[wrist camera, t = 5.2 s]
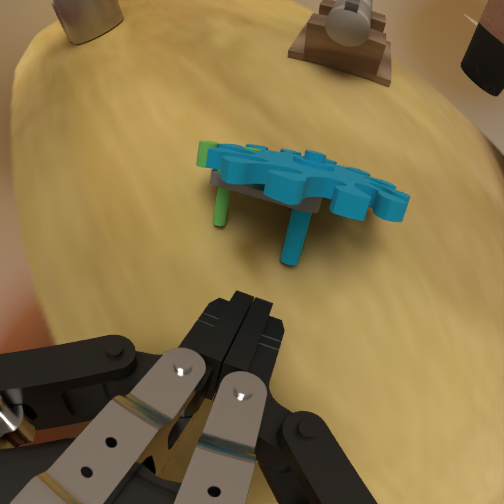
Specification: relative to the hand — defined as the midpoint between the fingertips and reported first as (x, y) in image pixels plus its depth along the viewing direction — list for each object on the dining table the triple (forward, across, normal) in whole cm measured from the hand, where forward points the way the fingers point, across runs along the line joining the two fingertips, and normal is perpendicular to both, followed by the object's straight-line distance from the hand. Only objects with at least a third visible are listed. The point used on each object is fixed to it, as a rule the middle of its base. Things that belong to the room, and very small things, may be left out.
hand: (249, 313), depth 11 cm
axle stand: (+22, 0, -17) cm, 28 cm away
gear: (+8, 0, -2) cm, 8 cm away
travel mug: (+30, -20, -24) cm, 44 cm away
